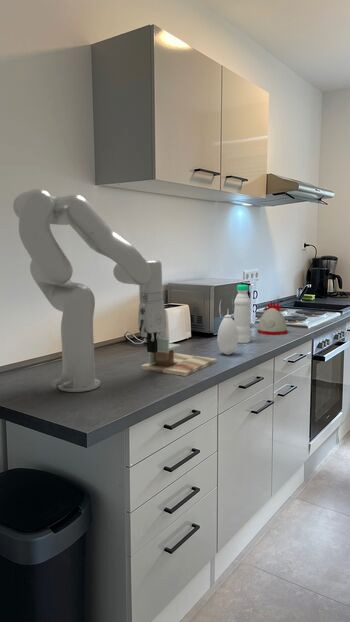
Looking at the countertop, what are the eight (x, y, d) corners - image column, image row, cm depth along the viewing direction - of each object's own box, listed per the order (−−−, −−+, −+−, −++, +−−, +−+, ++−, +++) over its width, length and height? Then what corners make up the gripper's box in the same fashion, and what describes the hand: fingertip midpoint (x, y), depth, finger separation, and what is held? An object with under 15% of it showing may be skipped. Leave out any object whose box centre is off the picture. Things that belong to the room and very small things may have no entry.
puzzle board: (185, 376, 157) (185, 372, 156) (140, 369, 166) (140, 365, 166) (216, 361, 175) (216, 358, 175) (175, 356, 185) (175, 352, 184)
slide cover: (168, 367, 162) (167, 339, 161) (148, 363, 167) (148, 337, 165) (180, 361, 169) (180, 335, 168) (161, 359, 173) (161, 333, 172)
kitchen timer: (281, 336, 222) (281, 304, 220) (253, 333, 229) (253, 302, 227) (290, 331, 233) (291, 300, 231) (264, 329, 241) (264, 299, 239)
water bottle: (237, 344, 205) (238, 285, 202) (231, 340, 212) (231, 284, 208) (252, 343, 207) (253, 285, 204) (246, 339, 214) (246, 283, 210)
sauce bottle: (213, 354, 187) (213, 308, 184) (226, 351, 192) (226, 306, 190) (229, 357, 181) (229, 310, 179) (241, 354, 187) (242, 308, 184)
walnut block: (166, 369, 165) (166, 352, 164) (155, 368, 167) (155, 351, 167) (173, 367, 169) (173, 350, 168) (163, 365, 171) (162, 348, 170)
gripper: (146, 300, 150) (148, 358, 152) (172, 295, 162) (173, 348, 165) (127, 299, 154) (129, 355, 157) (154, 294, 166) (156, 346, 169)
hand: (152, 351), depth 161 cm, fingers closed
